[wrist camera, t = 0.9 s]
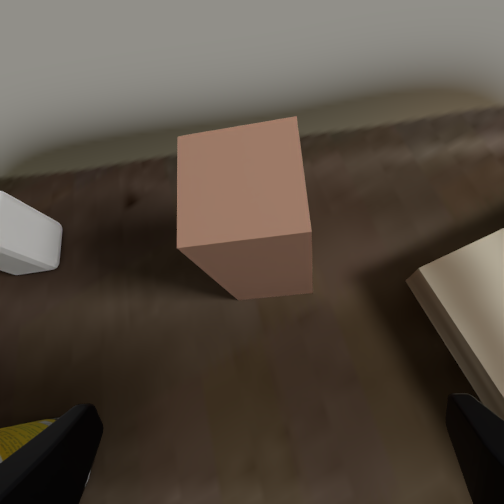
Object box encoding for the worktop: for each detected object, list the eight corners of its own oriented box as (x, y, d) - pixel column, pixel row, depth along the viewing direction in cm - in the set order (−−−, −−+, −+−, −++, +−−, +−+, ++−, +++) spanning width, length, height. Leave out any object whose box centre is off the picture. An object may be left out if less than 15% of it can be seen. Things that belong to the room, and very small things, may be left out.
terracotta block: (313, 293, 22) (311, 231, 12) (238, 300, 23) (176, 248, 13) (304, 222, 24) (296, 116, 14) (234, 231, 25) (177, 136, 14)
